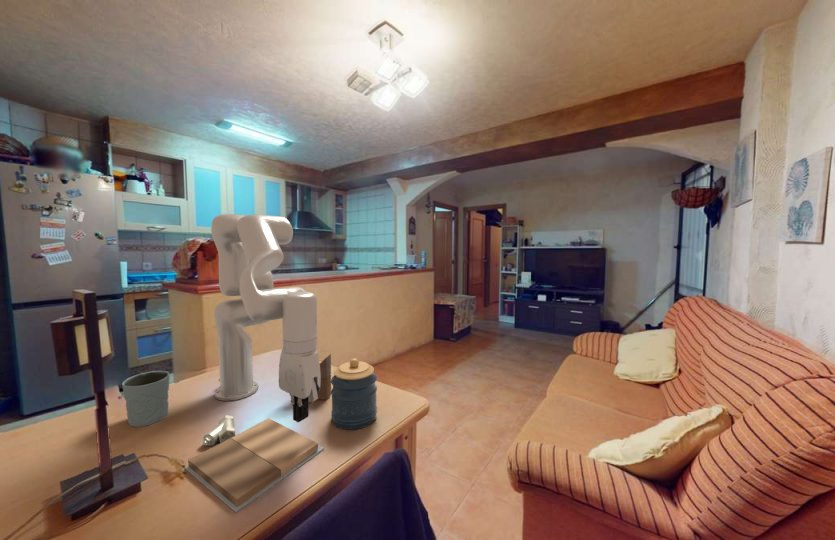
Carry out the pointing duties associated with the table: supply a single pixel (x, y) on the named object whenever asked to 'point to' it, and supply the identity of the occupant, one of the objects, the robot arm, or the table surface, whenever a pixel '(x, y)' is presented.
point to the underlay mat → (258, 492)
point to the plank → (276, 444)
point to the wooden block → (325, 378)
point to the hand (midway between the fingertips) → (300, 418)
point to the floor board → (234, 471)
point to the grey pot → (146, 397)
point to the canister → (354, 395)
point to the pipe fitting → (220, 431)
